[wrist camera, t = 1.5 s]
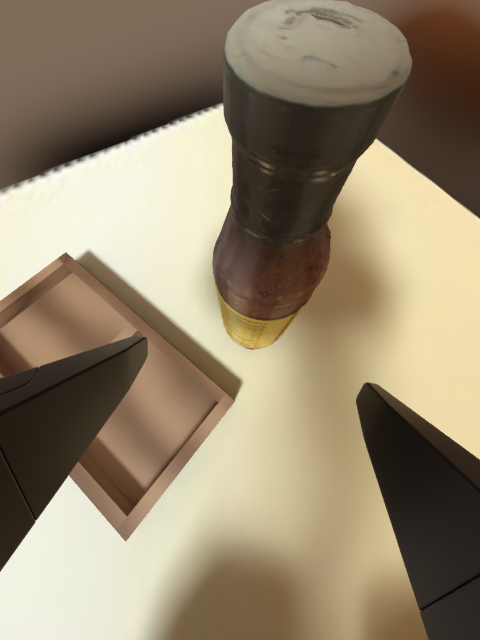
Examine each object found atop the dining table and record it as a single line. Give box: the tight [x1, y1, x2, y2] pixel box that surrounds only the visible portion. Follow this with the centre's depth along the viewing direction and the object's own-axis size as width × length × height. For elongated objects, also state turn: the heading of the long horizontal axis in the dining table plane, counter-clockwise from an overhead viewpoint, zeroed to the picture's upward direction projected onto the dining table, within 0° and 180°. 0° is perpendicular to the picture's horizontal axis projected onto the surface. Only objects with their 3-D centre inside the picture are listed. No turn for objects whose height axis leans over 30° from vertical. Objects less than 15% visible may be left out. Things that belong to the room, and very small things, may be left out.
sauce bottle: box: [213, 0, 412, 350], centre depth 14 cm, size 7×6×20 cm
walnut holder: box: [0, 253, 235, 541], centre depth 20 cm, size 12×23×2 cm, turn 51°
